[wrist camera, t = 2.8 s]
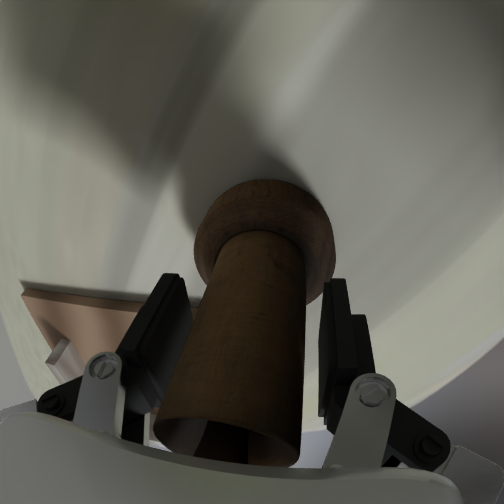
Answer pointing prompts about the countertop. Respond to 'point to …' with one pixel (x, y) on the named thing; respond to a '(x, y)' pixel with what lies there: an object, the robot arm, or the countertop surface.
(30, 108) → the countertop surface
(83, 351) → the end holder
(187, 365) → the wooden chess pawn
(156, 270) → the countertop surface
